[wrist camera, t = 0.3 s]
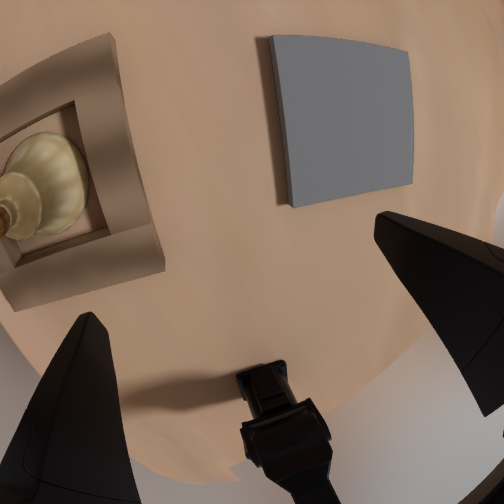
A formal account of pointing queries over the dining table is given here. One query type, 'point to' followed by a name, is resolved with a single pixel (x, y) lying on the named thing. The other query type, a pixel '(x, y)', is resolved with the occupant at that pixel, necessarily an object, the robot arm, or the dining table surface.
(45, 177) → the hand bell
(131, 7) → the dining table surface
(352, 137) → the grey rubber mat
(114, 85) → the walnut well board
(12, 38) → the dining table surface
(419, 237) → the robot arm
